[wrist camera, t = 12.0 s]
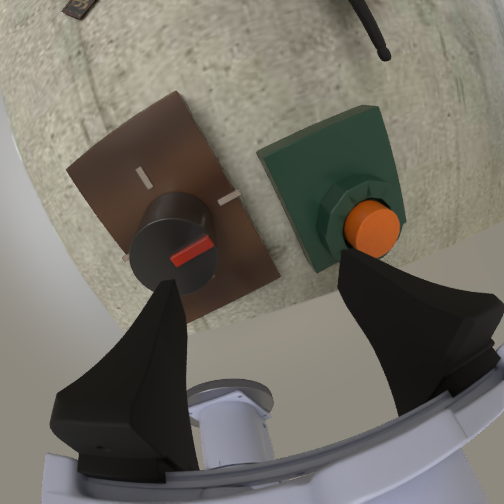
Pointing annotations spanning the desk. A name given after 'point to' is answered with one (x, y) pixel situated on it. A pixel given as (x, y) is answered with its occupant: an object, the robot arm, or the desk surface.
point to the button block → (333, 179)
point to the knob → (175, 244)
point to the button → (372, 228)
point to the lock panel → (167, 181)
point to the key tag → (77, 8)
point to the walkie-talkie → (371, 28)
